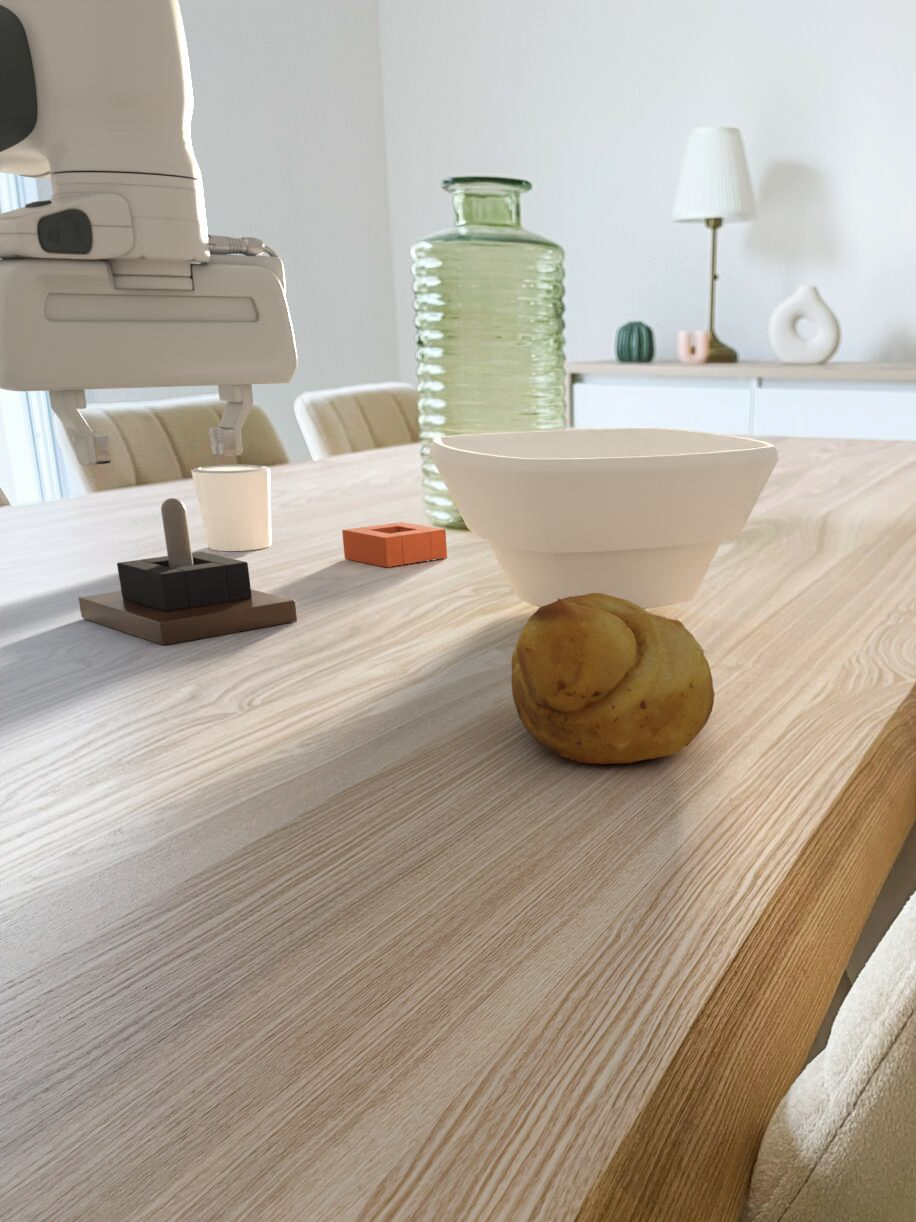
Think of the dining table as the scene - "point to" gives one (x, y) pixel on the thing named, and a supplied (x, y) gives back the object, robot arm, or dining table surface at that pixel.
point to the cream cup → (234, 506)
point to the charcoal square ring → (184, 582)
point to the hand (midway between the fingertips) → (163, 459)
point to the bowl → (604, 506)
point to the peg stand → (191, 620)
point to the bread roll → (609, 681)
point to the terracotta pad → (394, 544)
